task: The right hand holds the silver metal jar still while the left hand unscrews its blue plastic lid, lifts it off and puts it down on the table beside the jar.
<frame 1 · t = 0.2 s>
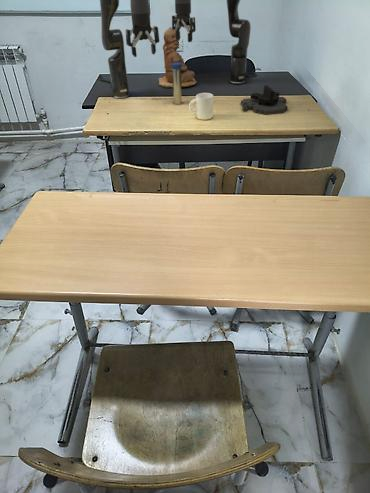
left hand: (144, 55, 157), 29 cm above the table, tool pointing down, fingers open, 8 cm apart
right hand: (183, 40, 179), 29 cm above the table, tool pointing down, fingers open, 8 cm apart
sculpture: (177, 82, 224), on the table
abstract sculpture: (265, 107, 186), on the table
jar: (177, 103, 195), on the table
mug: (200, 117, 177), on the table
lid: (176, 64, 182), point 19 cm above the table, screwed on, not yet turned
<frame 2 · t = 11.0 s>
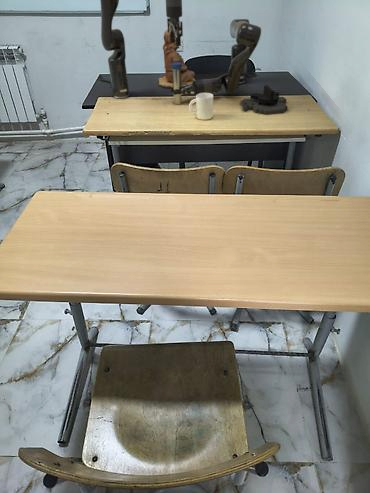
left hand: (175, 44, 177), 28 cm above the table, tool pointing down, fingers open, 7 cm apart
right hand: (172, 91, 190), 6 cm above the table, tool horizontal, fingers closed on jar, 4 cm apart
jar: (177, 103, 195), on the table, touching right hand
everything else where it was.
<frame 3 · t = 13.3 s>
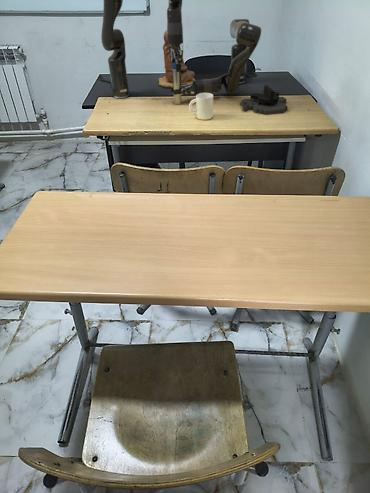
left hand: (176, 70, 184), 17 cm above the table, tool pointing down, fingers closed on lid, 5 cm apart
right hand: (172, 91, 190), 6 cm above the table, tool horizontal, fingers closed on jar, 4 cm apart
jar: (177, 103, 195), on the table, touching right hand
lid: (176, 64, 182), point 19 cm above the table, screwed on, not yet turned, touching left hand
everything else where it was.
when the left hand's fingers open (17 cm above the table, at t = 14.7 s): lid stays where it is, point 20 cm above the table.
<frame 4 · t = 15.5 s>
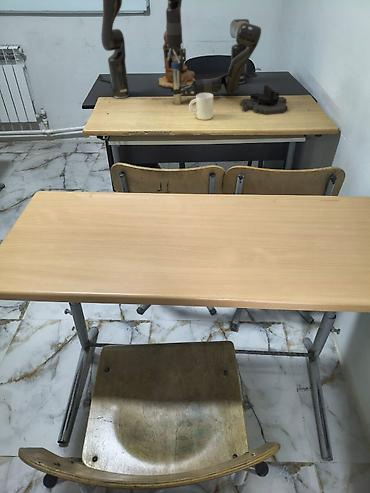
left hand: (175, 69, 183), 17 cm above the table, tool pointing down, fingers open, 7 cm apart
right hand: (172, 91, 190), 7 cm above the table, tool horizontal, fingers closed on jar, 4 cm apart
jar: (177, 102, 195), on the table, touching right hand
lid: (176, 63, 182), point 20 cm above the table, turned 77° so far, risen 0.3 cm, still on its thread
everything else where it was.
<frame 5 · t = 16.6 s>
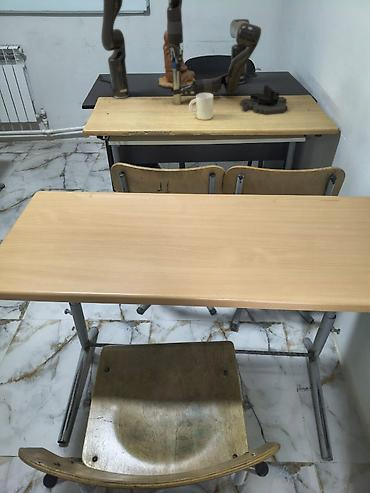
left hand: (176, 69, 184), 17 cm above the table, tool pointing down, fingers closed on lid, 5 cm apart
right hand: (172, 91, 190), 7 cm above the table, tool horizontal, fingers closed on jar, 4 cm apart
jar: (177, 102, 195), on the table, touching right hand
lid: (176, 63, 182), point 20 cm above the table, turned 77° so far, risen 0.3 cm, still on its thread, touching left hand
everything else where it was.
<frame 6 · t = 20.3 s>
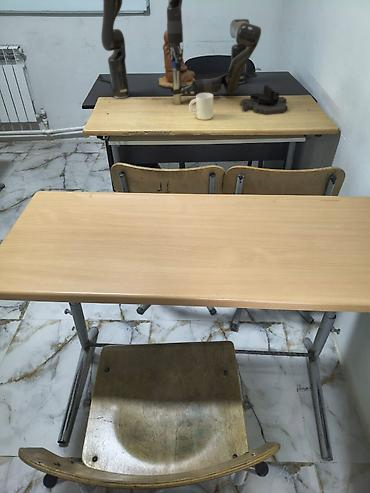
left hand: (176, 69, 184), 17 cm above the table, tool pointing down, fingers closed on lid, 5 cm apart
right hand: (172, 91, 190), 7 cm above the table, tool horizontal, fingers closed on jar, 4 cm apart
jar: (177, 102, 195), on the table, touching right hand
lid: (176, 62, 182), point 20 cm above the table, turned 155° so far, risen 0.5 cm, still on its thread, touching left hand
everything else where it was.
when the left hand's fingers open (0 cm above the table, at t = 27.8 s): lid drops 1 cm, point 2 cm above the table.
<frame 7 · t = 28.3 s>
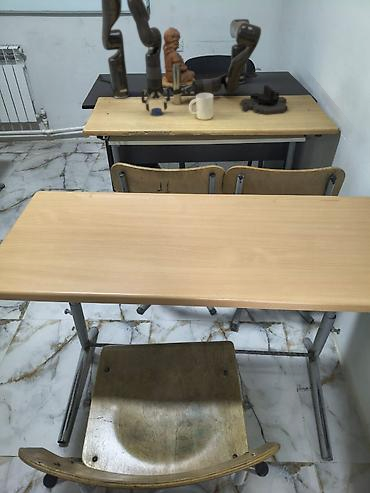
left hand: (156, 110, 182), 2 cm above the table, tool pointing down, fingers open, 8 cm apart
right hand: (172, 91, 190), 7 cm above the table, tool horizontal, fingers closed on jar, 4 cm apart
jar: (177, 102, 195), on the table, touching right hand
lid: (156, 110, 182), point 2 cm above the table, off its thread
everything else where it was.
when the right hand's fingers open (7 cm above the table, at t = 28.8 s): jar stays where it is, on the table.
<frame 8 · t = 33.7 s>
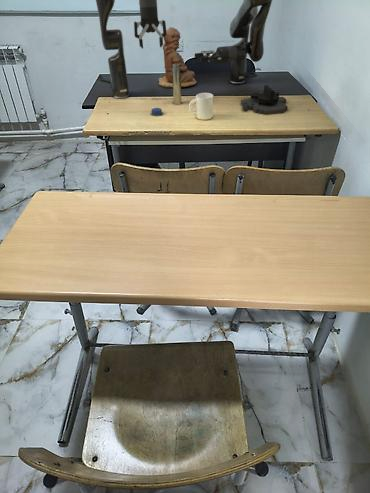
left hand: (151, 47, 164), 30 cm above the table, tool pointing down, fingers open, 8 cm apart
right hand: (197, 57, 184), 21 cm above the table, tool horizontal, fingers open, 8 cm apart
jar: (177, 102, 195), on the table
everything else where it was.
at the end: lid came off its thread; lid point 1.8 cm above the table; the left hand is holding nothing; the right hand is holding nothing; jar tilted 0°; jar moved 0.2 cm from its start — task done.
